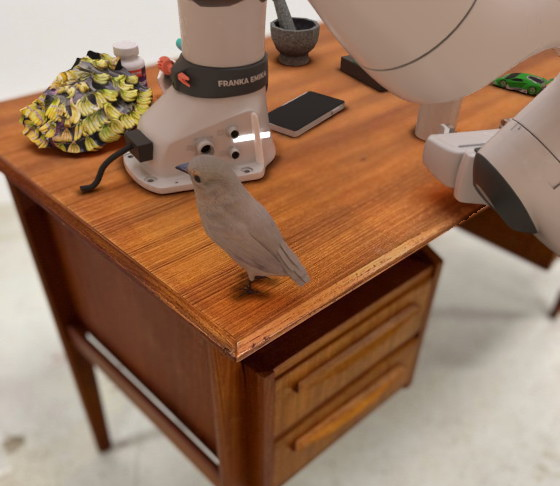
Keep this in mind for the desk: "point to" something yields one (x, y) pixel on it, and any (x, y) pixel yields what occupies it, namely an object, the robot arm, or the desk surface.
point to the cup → (436, 117)
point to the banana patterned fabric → (87, 106)
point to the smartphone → (303, 113)
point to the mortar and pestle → (293, 35)
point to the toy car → (523, 82)
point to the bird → (240, 223)
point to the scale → (358, 72)
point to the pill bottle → (131, 59)
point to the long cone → (164, 80)
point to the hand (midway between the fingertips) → (474, 126)
